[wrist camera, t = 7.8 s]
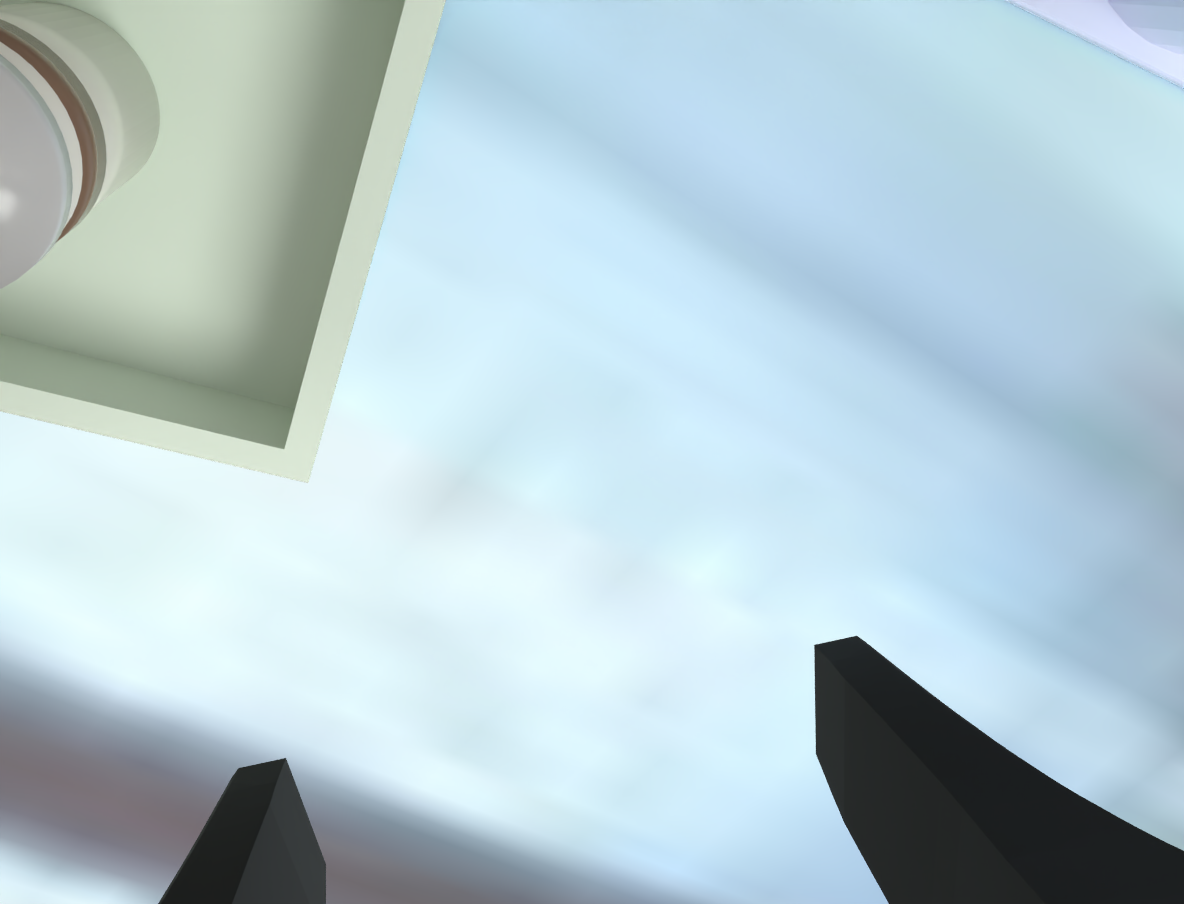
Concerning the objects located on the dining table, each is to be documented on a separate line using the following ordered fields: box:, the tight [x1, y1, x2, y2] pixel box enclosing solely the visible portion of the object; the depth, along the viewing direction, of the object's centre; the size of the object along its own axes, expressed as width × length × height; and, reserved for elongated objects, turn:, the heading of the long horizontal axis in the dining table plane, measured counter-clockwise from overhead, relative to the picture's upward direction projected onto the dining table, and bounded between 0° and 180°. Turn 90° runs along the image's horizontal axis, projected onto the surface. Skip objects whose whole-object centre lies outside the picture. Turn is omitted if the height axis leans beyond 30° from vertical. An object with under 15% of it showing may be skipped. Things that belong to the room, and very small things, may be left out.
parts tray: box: [0, 0, 446, 483], centre depth 16 cm, size 11×10×2 cm
